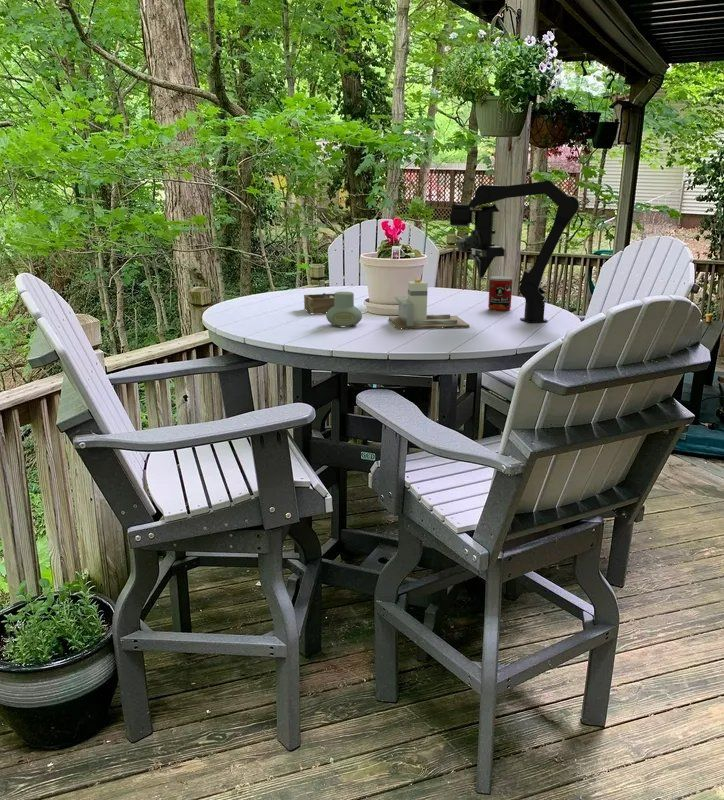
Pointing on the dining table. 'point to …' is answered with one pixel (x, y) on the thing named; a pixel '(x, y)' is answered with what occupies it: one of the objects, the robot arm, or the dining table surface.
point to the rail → (406, 311)
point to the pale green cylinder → (418, 298)
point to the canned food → (500, 293)
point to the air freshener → (344, 310)
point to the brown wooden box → (318, 303)
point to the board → (431, 322)
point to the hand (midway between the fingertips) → (481, 277)
